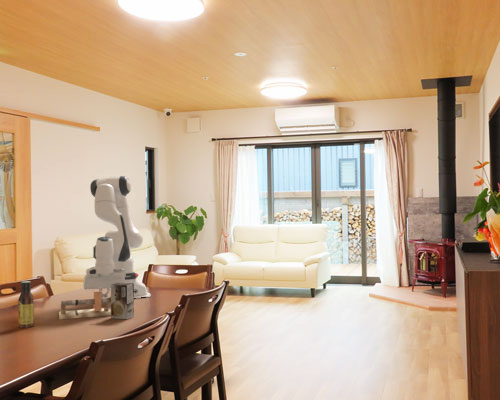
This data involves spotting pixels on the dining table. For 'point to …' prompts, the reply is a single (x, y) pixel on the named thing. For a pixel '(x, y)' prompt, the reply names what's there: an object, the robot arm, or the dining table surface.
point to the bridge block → (98, 301)
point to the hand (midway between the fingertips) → (104, 297)
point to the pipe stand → (83, 313)
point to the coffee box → (122, 300)
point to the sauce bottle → (25, 306)
